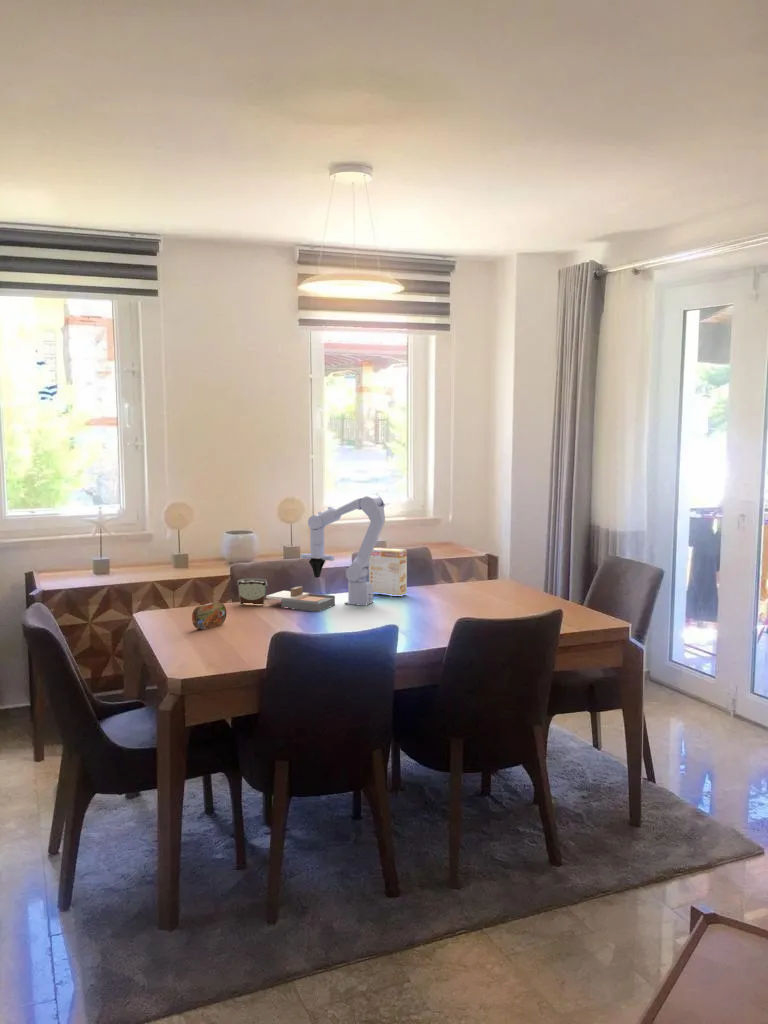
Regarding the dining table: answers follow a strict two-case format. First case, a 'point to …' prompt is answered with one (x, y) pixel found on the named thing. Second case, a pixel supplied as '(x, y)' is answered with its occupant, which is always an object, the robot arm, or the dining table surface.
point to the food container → (252, 590)
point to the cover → (289, 594)
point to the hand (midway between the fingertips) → (317, 577)
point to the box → (310, 602)
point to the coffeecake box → (388, 571)
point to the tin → (209, 615)
